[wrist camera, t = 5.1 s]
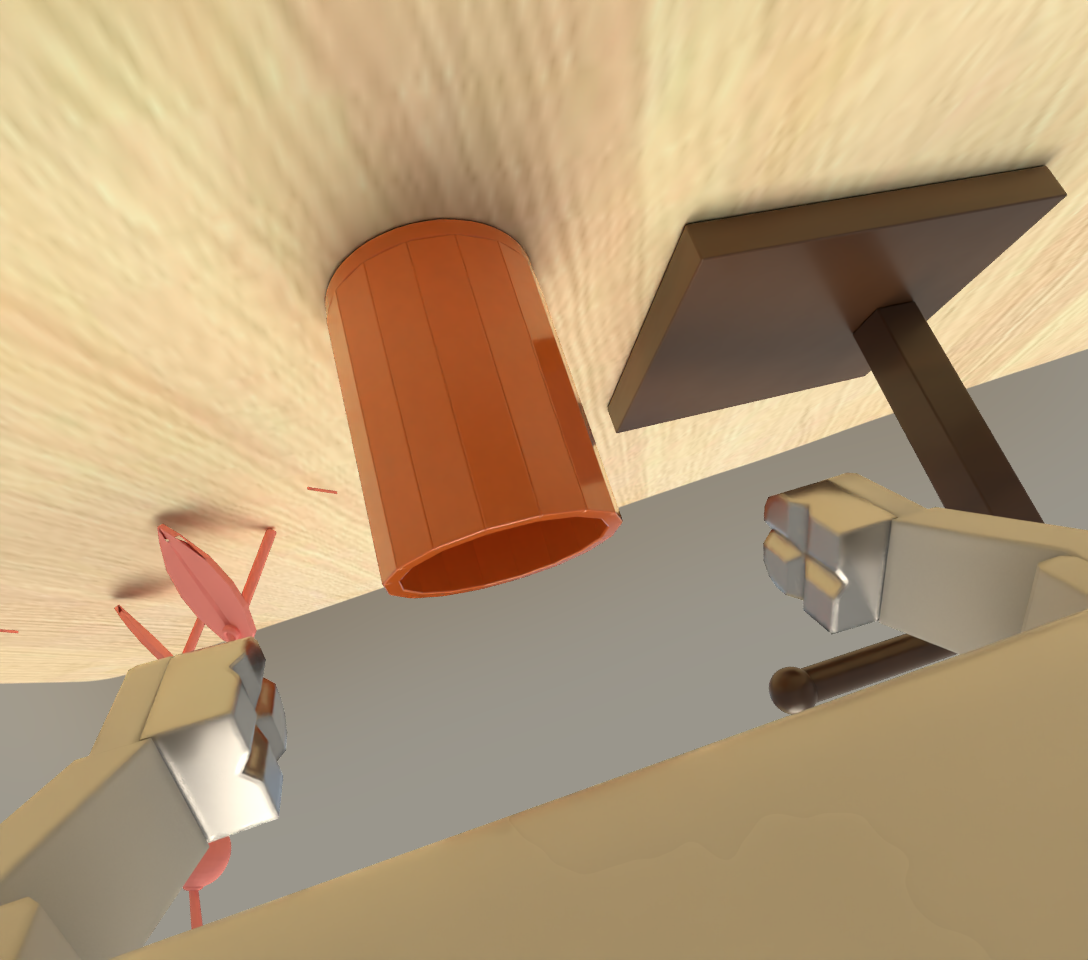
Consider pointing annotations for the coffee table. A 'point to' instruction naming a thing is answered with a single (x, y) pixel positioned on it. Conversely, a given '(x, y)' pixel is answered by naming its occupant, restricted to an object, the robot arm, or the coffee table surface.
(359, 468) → the mug
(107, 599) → the coffee table surface
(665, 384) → the mug tree
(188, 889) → the flower sculpture
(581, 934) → the robot arm
